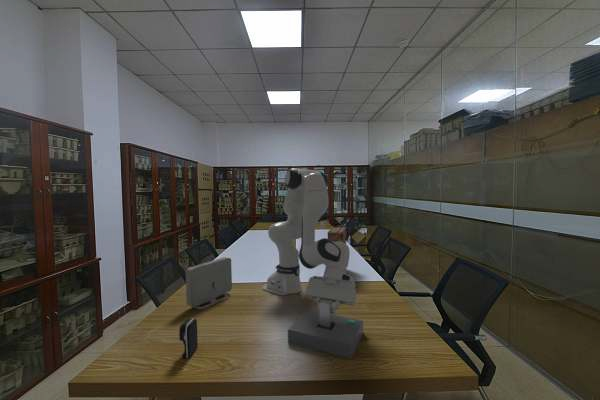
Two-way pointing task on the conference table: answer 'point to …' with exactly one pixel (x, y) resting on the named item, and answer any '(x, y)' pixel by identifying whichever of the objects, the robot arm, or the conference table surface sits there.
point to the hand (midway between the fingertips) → (325, 311)
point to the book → (337, 234)
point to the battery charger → (189, 337)
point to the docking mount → (327, 334)
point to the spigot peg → (326, 314)
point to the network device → (208, 282)
